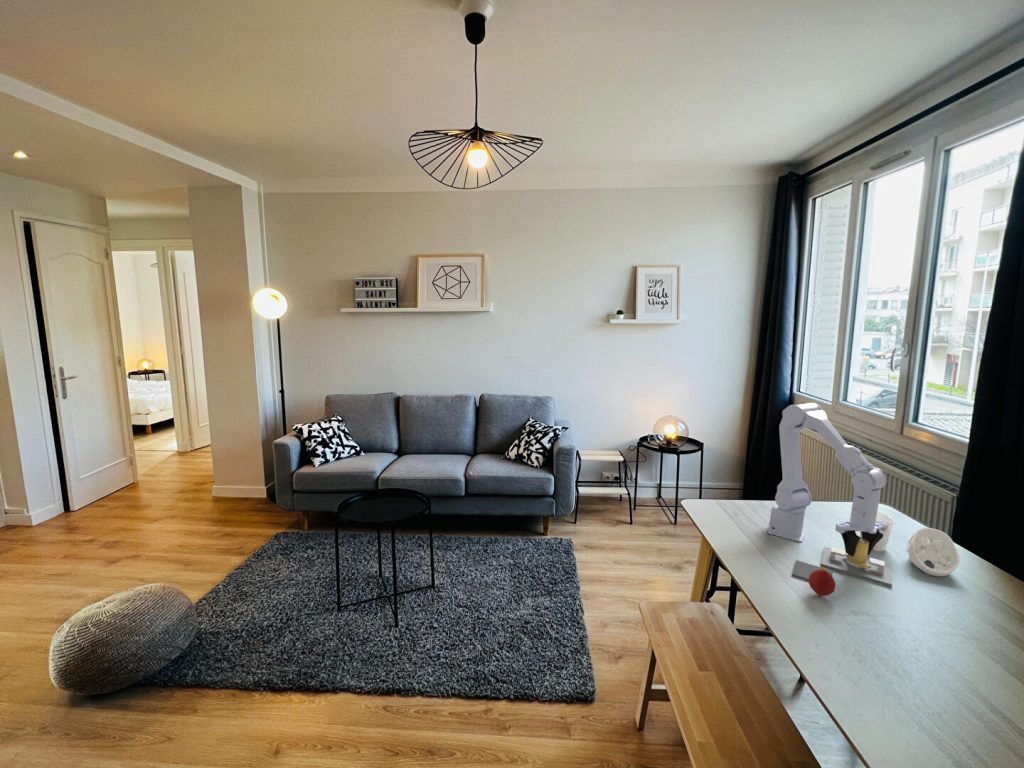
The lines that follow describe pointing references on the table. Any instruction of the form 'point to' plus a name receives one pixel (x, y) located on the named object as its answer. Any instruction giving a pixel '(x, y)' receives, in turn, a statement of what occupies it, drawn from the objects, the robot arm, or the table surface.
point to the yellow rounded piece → (860, 554)
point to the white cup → (883, 532)
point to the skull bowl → (933, 551)
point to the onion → (822, 582)
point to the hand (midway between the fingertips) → (857, 553)
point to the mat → (805, 570)
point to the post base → (857, 567)
